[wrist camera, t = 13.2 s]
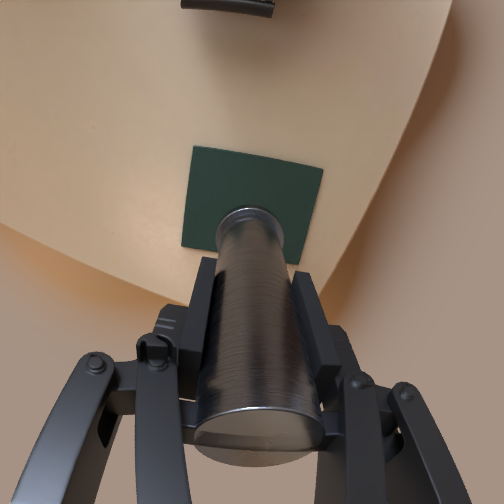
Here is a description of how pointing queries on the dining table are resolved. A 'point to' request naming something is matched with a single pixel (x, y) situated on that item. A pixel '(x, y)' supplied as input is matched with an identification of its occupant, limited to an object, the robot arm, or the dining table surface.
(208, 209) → the mat
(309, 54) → the dining table surface
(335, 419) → the silver cylinder
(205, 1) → the drawer
